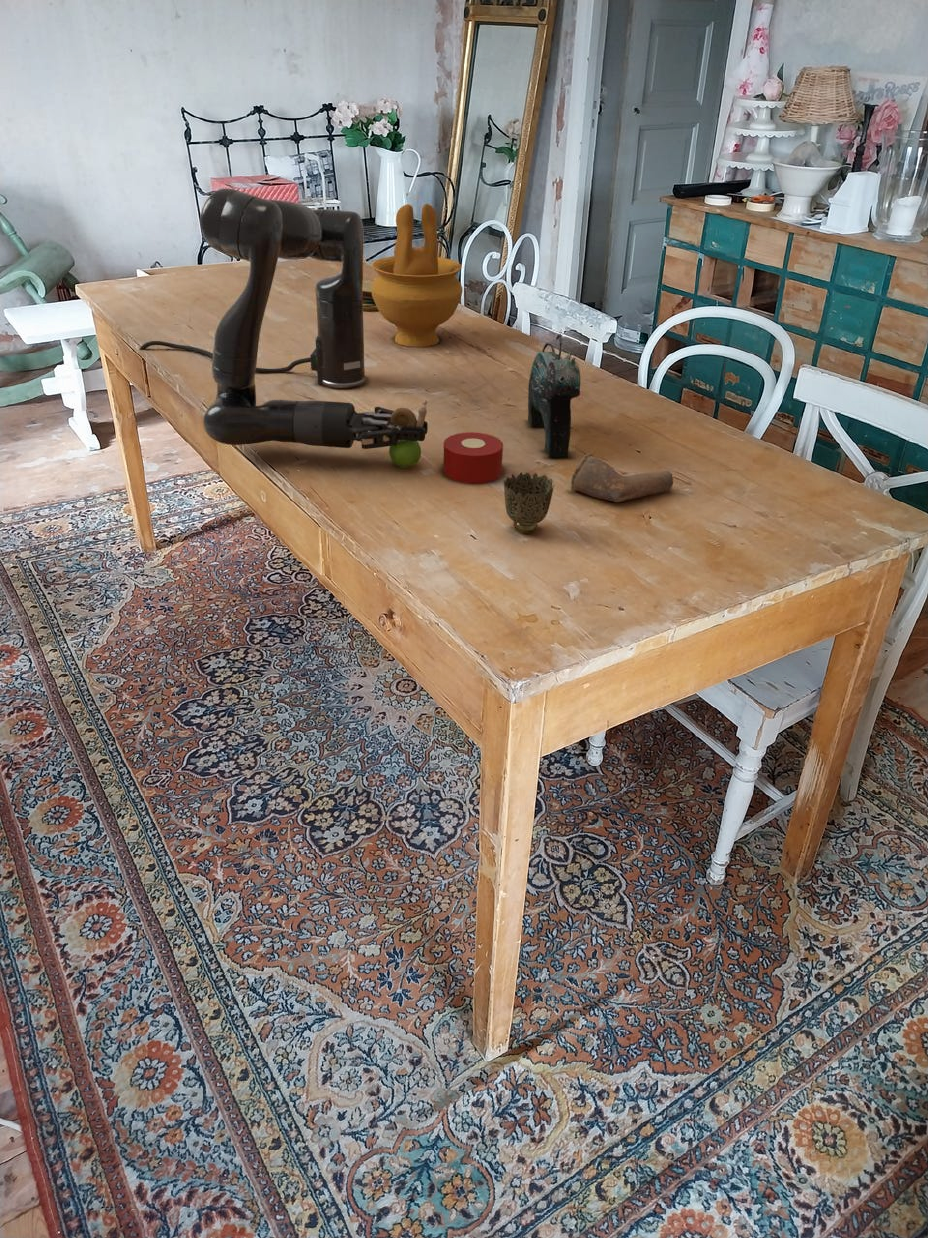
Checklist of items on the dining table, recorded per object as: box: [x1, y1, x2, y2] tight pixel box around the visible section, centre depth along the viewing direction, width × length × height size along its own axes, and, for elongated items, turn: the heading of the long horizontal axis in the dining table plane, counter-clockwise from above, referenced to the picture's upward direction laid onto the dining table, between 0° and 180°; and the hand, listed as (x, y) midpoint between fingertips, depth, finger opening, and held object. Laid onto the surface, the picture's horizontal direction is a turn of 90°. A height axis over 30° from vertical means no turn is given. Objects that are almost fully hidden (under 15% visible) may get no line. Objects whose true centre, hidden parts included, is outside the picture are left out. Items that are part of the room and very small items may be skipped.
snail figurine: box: [388, 400, 428, 469], centre depth 157 cm, size 5×6×12 cm
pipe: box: [570, 453, 674, 503], centre depth 153 cm, size 6×17×10 cm
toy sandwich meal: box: [362, 279, 379, 312], centre depth 244 cm, size 12×14×5 cm
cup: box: [503, 471, 555, 535], centre depth 140 cm, size 8×7×8 cm
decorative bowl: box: [371, 203, 463, 348], centre depth 213 cm, size 21×21×30 cm
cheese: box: [442, 431, 504, 484], centre depth 158 cm, size 10×10×5 cm
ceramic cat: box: [527, 333, 581, 459], centre depth 167 cm, size 20×6×20 cm, turn 9°
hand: (425, 431), depth 157 cm, fingers closed
